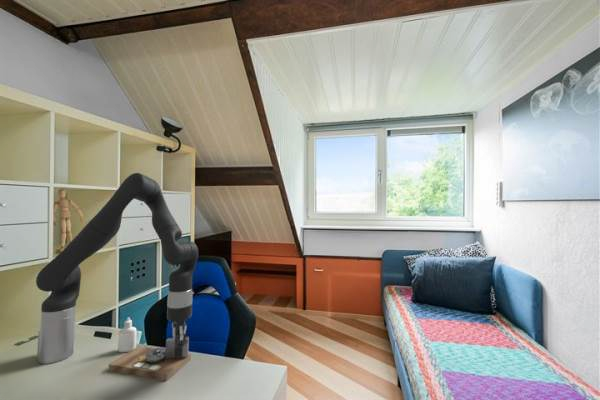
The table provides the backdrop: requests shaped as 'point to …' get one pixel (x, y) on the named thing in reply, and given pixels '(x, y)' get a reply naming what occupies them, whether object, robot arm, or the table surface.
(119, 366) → the stand
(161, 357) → the lever
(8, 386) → the table surface
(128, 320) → the eye dropper bottle
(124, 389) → the table surface
